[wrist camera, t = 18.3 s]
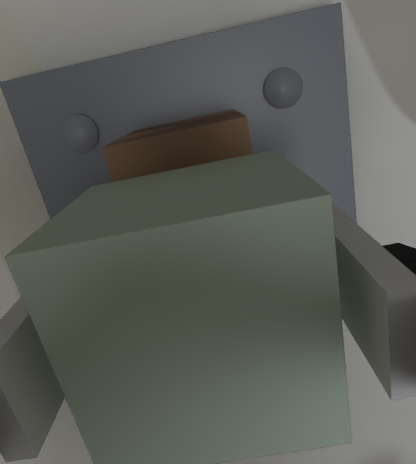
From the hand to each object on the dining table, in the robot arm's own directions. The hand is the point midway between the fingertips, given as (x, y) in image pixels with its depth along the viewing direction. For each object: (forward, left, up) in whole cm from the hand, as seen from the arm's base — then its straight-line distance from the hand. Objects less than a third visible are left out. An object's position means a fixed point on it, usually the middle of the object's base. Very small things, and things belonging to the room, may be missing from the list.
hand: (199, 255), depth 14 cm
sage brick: (0, 0, 0) cm, 0 cm away
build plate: (0, 0, -7) cm, 7 cm away
